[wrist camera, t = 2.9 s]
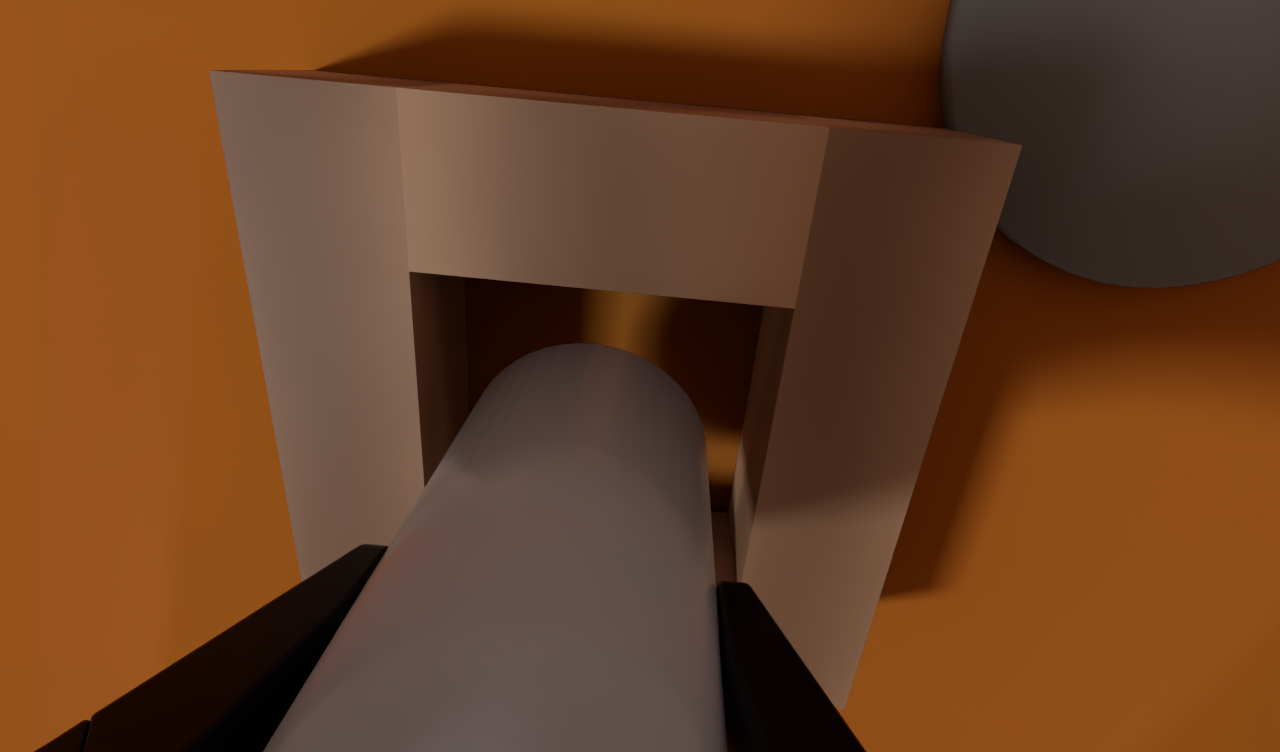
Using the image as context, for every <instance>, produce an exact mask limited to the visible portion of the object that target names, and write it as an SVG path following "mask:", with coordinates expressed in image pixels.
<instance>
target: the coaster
mask: <svg viewBox="0 0 1280 752" xmlns="http://www.w3.org/2000/svg"><path fill="white" fill-rule="evenodd" d="M940 85H941V103H942V115H943V120H944V125H945V129H950V130H954V131H960V132H964V133H969V134H973V135H978V136H983V137H987V138H992V139H996V140H1001V141H1005V142H1010V143H1014V144H1019V145H1022V148H1021V151H1020V154H1019V158H1018V161H1017V164H1016V167H1015V170H1014V173H1013V177H1012V180H1011V183H1010V186H1009V189H1008V192H1007V196H1006V199H1005V202H1004V205H1003V208H1002V211H1001V215H1000V218H999V221H998V224H997V228H998V229H999V230H1000V231H1001V232H1002V233H1003V234H1004V235H1005V236H1006V237H1007V238H1008V239H1010V240H1011V241H1013V242H1014V243H1015V244H1017V245H1018V246H1020V247H1021V248H1023V249H1024V250H1026V251H1027V252H1029V253H1030V254H1032V255H1034V256H1036V257H1038V258H1040V259H1041V260H1043V261H1045V262H1047V263H1049V264H1052V265H1054V266H1056V267H1058V268H1060V269H1062V270H1064V271H1066V272H1068V273H1070V274H1073V275H1077V276H1080V277H1083V278H1086V279H1090V280H1093V281H1096V282H1100V283H1106V284H1113V285H1119V286H1125V287H1144V288H1165V287H1176V286H1188V285H1195V284H1200V283H1205V282H1210V281H1215V280H1220V279H1225V278H1229V277H1232V276H1235V275H1239V274H1242V273H1245V272H1248V271H1252V270H1255V269H1258V268H1261V267H1263V266H1266V265H1268V264H1271V263H1273V262H1276V261H1278V260H1280V0H951V2H950V6H949V11H948V16H947V22H946V27H945V32H944V37H943V44H942V58H941V73H940Z"/></svg>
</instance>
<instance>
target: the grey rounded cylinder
mask: <svg viewBox="0 0 1280 752" xmlns="http://www.w3.org/2000/svg"><path fill="white" fill-rule="evenodd" d="M263 752H727V740H726V725H725V710H724V696H723V681H722V667H721V652H720V637H719V623H718V608H717V594H716V579H715V564H714V550H713V535H712V520H711V506H710V491H709V477H708V462H707V448H706V437H705V433H704V429H703V425H702V422H701V420H700V417H699V415H698V412H697V410H696V408H695V407H694V405H693V403H692V402H691V400H690V398H689V397H688V396H687V394H686V393H685V392H684V390H683V389H682V388H681V387H680V386H679V385H678V384H677V383H676V382H675V381H674V380H673V379H672V378H671V377H670V376H669V375H668V374H667V373H665V372H664V371H663V370H661V369H660V368H659V367H657V366H656V365H654V364H652V363H651V362H649V361H647V360H645V359H644V358H642V357H640V356H637V355H635V354H632V353H630V352H628V351H625V350H621V349H618V348H614V347H611V346H605V345H599V344H587V343H573V344H561V345H556V346H551V347H547V348H543V349H540V350H538V351H535V352H532V353H529V354H527V355H525V356H524V357H522V358H520V359H518V360H516V361H514V362H513V363H512V364H510V365H509V366H507V367H506V368H504V369H503V370H502V371H501V372H500V373H499V374H498V375H497V376H496V377H495V378H494V379H493V380H492V381H491V383H490V384H489V385H488V386H487V388H486V389H485V390H484V392H483V394H482V395H481V397H480V399H479V400H478V402H477V403H476V405H475V407H474V408H473V410H472V412H471V413H470V415H469V416H468V418H467V420H466V421H465V423H464V425H463V426H462V428H461V430H460V431H459V433H458V434H457V436H456V438H455V439H454V441H453V443H452V444H451V446H450V447H449V449H448V451H447V452H446V454H445V456H444V457H443V459H442V461H441V462H440V464H439V465H438V467H437V469H436V470H435V472H434V474H433V475H432V477H431V478H430V480H429V482H428V483H427V485H426V487H425V488H424V490H423V492H422V493H421V495H420V496H419V498H418V500H417V501H416V503H415V505H414V506H413V508H412V509H411V511H410V513H409V514H408V516H407V518H406V519H405V521H404V522H403V524H402V526H401V527H400V529H399V531H398V532H397V534H396V536H395V537H394V539H393V540H392V542H391V544H390V545H389V547H388V549H387V550H386V552H385V553H384V555H383V557H382V558H381V560H380V562H379V563H378V565H377V567H376V568H375V570H374V571H373V573H372V575H371V576H370V578H369V580H368V581H367V583H366V584H365V586H364V588H363V589H362V591H361V593H360V594H359V596H358V597H357V599H356V601H355V602H354V604H353V606H352V607H351V609H350V611H349V612H348V614H347V615H346V617H345V619H344V620H343V622H342V624H341V625H340V627H339V628H338V630H337V632H336V633H335V635H334V637H333V638H332V640H331V642H330V643H329V645H328V646H327V648H326V650H325V651H324V653H323V655H322V656H321V658H320V659H319V661H318V663H317V664H316V666H315V668H314V669H313V671H312V673H311V674H310V676H309V677H308V679H307V681H306V682H305V684H304V686H303V687H302V689H301V690H300V692H299V694H298V695H297V697H296V699H295V700H294V702H293V703H292V705H291V707H290V708H289V710H288V712H287V713H286V715H285V717H284V718H283V720H282V721H281V723H280V725H279V726H278V728H277V730H276V731H275V733H274V734H273V736H272V738H271V739H270V741H269V743H268V744H267V746H266V748H265V749H264V751H263Z"/></svg>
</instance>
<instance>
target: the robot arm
mask: <svg viewBox="0 0 1280 752" xmlns="http://www.w3.org/2000/svg"><path fill="white" fill-rule="evenodd" d="M388 547H389V546H385V545H375V544H362V545H359V546H358V547H356V548H354V549H353V550H351V551H350V552H348V553H346V554H345V555H343V556H342V557H340V558H339V559H337V560H335V561H334V562H332V563H331V564H329V565H327V566H326V567H324V568H323V569H321V570H320V571H318V572H316V573H315V574H313V575H312V576H310V577H309V578H307V579H305V580H304V581H302V582H301V583H299V584H298V585H296V586H294V587H293V588H291V589H290V590H288V591H287V592H285V593H283V594H282V595H280V596H279V597H277V598H276V599H274V600H272V601H271V602H269V603H268V604H266V605H265V606H263V607H261V608H260V609H258V610H257V611H255V612H254V613H252V614H250V615H249V616H247V617H246V618H244V619H243V620H241V621H239V622H238V623H236V624H235V625H233V626H232V627H230V628H228V629H227V630H225V631H224V632H222V633H221V634H219V635H217V636H216V637H214V638H213V639H211V640H210V641H208V642H206V643H205V644H203V645H202V646H200V647H199V648H197V649H195V650H194V651H192V652H191V653H189V654H188V655H186V656H184V657H183V658H181V659H180V660H178V661H177V662H175V663H173V664H172V665H170V666H169V667H167V668H165V669H164V670H162V671H161V672H159V673H158V674H156V675H154V676H153V677H151V678H150V679H148V680H147V681H145V682H143V683H142V684H140V685H139V686H137V687H136V688H134V689H132V690H131V691H129V692H128V693H126V694H125V695H123V696H121V697H120V698H118V699H117V700H115V701H114V702H112V703H110V704H109V705H107V706H106V707H104V708H103V709H101V710H99V711H98V712H96V713H95V714H94V715H93V716H92V717H91V720H90V721H89V720H84V721H82V722H80V723H79V724H77V725H75V726H74V727H72V728H71V729H69V730H68V731H66V732H64V733H63V734H61V735H60V736H58V737H57V738H55V739H53V740H52V741H50V742H49V743H47V744H46V745H44V746H42V747H41V748H39V749H37V750H36V751H34V752H263V751H264V749H265V748H266V746H267V744H268V743H269V741H270V739H271V738H272V736H273V734H274V733H275V731H276V730H277V728H278V726H279V725H280V723H281V721H282V720H283V718H284V717H285V715H286V713H287V712H288V710H289V708H290V707H291V705H292V703H293V702H294V700H295V699H296V697H297V695H298V694H299V692H300V690H301V689H302V687H303V686H304V684H305V682H306V681H307V679H308V677H309V676H310V674H311V673H312V671H313V669H314V668H315V666H316V664H317V663H318V661H319V659H320V658H321V656H322V655H323V653H324V651H325V650H326V648H327V646H328V645H329V643H330V642H331V640H332V638H333V637H334V635H335V633H336V632H337V630H338V628H339V627H340V625H341V624H342V622H343V620H344V619H345V617H346V615H347V614H348V612H349V611H350V609H351V607H352V606H353V604H354V602H355V601H356V599H357V597H358V596H359V594H360V593H361V591H362V589H363V588H364V586H365V584H366V583H367V581H368V580H369V578H370V576H371V575H372V573H373V571H374V570H375V568H376V567H377V565H378V563H379V562H380V560H381V558H382V557H383V555H384V553H385V552H386V550H387V549H388ZM716 594H717V608H718V623H719V637H720V652H721V667H722V681H723V696H724V710H725V725H726V740H727V752H866V750H865V749H864V748H863V746H862V745H861V743H860V742H859V740H858V739H857V738H856V736H855V735H854V733H853V732H852V730H851V729H850V728H849V726H848V725H847V723H846V722H845V720H844V719H843V718H842V716H841V715H840V713H839V712H838V710H837V709H836V708H835V706H834V705H833V703H832V702H831V700H830V699H829V697H828V696H827V695H826V693H825V692H824V690H823V689H822V687H821V686H820V685H819V683H818V682H817V680H816V679H815V677H814V676H813V675H812V673H811V672H810V670H809V669H808V667H807V666H806V665H805V663H804V662H803V660H802V659H801V657H800V656H799V655H798V653H797V652H796V650H795V649H794V647H793V646H792V645H791V643H790V642H789V640H788V639H787V637H786V636H785V634H784V633H783V632H782V630H781V629H780V627H779V626H778V624H777V623H776V622H775V620H774V619H773V617H772V616H771V614H770V613H769V612H768V610H767V609H766V607H765V606H764V604H763V603H762V602H761V600H760V599H759V597H758V596H757V594H756V593H755V592H754V590H753V589H752V587H751V586H750V585H749V584H747V583H744V582H735V581H725V580H723V581H720V582H719V583H718V585H717V589H716Z"/></svg>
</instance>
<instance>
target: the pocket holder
mask: <svg viewBox="0 0 1280 752" xmlns="http://www.w3.org/2000/svg"><path fill="white" fill-rule="evenodd" d="M209 74H210V79H211V85H212V90H213V96H214V101H215V107H216V112H217V118H218V123H219V129H220V134H221V140H222V145H223V151H224V156H225V162H226V167H227V173H228V178H229V184H230V189H231V195H232V200H233V206H234V211H235V217H236V222H237V228H238V233H239V239H240V244H241V250H242V255H243V261H244V266H245V272H246V277H247V283H248V289H249V294H250V300H251V305H252V311H253V316H254V322H255V327H256V333H257V338H258V344H259V349H260V355H261V360H262V366H263V371H264V377H265V382H266V388H267V393H268V399H269V404H270V410H271V415H272V421H273V426H274V432H275V437H276V443H277V448H278V454H279V459H280V465H281V470H282V476H283V481H284V487H285V492H286V498H287V503H288V509H289V514H290V520H291V526H292V531H293V537H294V542H295V548H296V553H297V559H298V564H299V570H300V575H301V581H304V580H305V579H307V578H309V577H310V576H312V575H313V574H315V573H316V572H318V571H320V570H321V569H323V568H324V567H326V566H327V565H329V564H331V563H332V562H334V561H335V560H337V559H339V558H340V557H342V556H343V555H345V554H346V553H348V552H350V551H351V550H353V549H354V548H356V547H358V546H359V545H362V544H375V545H385V546H389V545H390V544H391V542H392V540H393V539H394V537H395V536H396V534H397V532H398V531H399V529H400V527H401V526H402V524H403V522H404V521H405V519H406V518H407V516H408V514H409V513H410V511H411V509H412V508H413V506H414V505H415V503H416V501H417V500H418V498H419V496H420V495H421V493H422V492H423V490H424V488H425V487H426V485H427V483H428V482H429V480H430V478H431V477H432V475H433V474H434V472H435V470H436V469H437V467H438V465H439V464H440V462H441V461H442V459H443V457H444V456H445V454H446V452H447V451H448V449H449V447H450V446H451V444H452V443H453V441H454V439H455V438H456V436H457V434H458V433H459V431H460V430H461V428H462V426H463V425H464V423H465V421H466V420H467V418H468V416H469V385H468V355H467V325H466V295H465V277H471V278H482V279H492V280H502V281H513V282H523V283H534V284H544V285H554V286H565V287H575V288H585V289H596V290H606V291H616V292H627V293H637V294H648V295H658V296H668V297H679V298H689V299H699V300H710V301H720V302H731V303H741V304H751V305H762V306H764V307H763V313H762V319H761V325H760V330H759V336H758V342H757V348H756V354H755V359H754V365H753V371H752V377H751V383H750V388H749V394H748V400H747V406H746V412H745V417H744V423H743V429H742V435H741V441H740V446H739V452H738V458H737V464H736V470H735V476H734V481H733V487H732V493H731V499H730V505H729V510H728V513H725V512H715V511H711V520H712V535H713V550H714V564H715V579H716V589H717V585H718V583H719V582H720V581H723V580H725V581H735V582H744V583H747V584H749V585H750V586H751V587H752V589H753V590H754V592H755V593H756V594H757V596H758V597H759V599H760V600H761V602H762V603H763V604H764V606H765V607H766V609H767V610H768V612H769V613H770V614H771V616H772V617H773V619H774V620H775V622H776V623H777V624H778V626H779V627H780V629H781V630H782V632H783V633H784V634H785V636H786V637H787V639H788V640H789V642H790V643H791V645H792V646H793V647H794V649H795V650H796V652H797V653H798V655H799V656H800V657H801V659H802V660H803V662H804V663H805V665H806V666H807V667H808V669H809V670H810V672H811V673H812V675H813V676H814V677H815V679H816V680H817V682H818V683H819V685H820V686H821V687H822V689H823V690H824V692H825V693H826V695H827V696H828V697H829V699H830V700H831V702H832V703H833V705H834V706H835V708H838V709H845V705H846V702H847V699H848V696H849V693H850V690H851V686H852V683H853V680H854V677H855V674H856V671H857V667H858V664H859V661H860V658H861V655H862V652H863V648H864V645H865V642H866V639H867V636H868V633H869V629H870V626H871V623H872V620H873V617H874V614H875V610H876V607H877V604H878V601H879V598H880V595H881V591H882V588H883V585H884V582H885V579H886V576H887V572H888V569H889V566H890V563H891V560H892V557H893V553H894V550H895V547H896V544H897V541H898V538H899V534H900V531H901V528H902V525H903V522H904V519H905V515H906V512H907V509H908V506H909V503H910V500H911V496H912V493H913V490H914V487H915V484H916V481H917V477H918V474H919V471H920V468H921V465H922V462H923V458H924V455H925V452H926V449H927V446H928V443H929V439H930V436H931V433H932V430H933V427H934V424H935V420H936V417H937V414H938V411H939V408H940V405H941V401H942V398H943V395H944V392H945V389H946V386H947V382H948V379H949V376H950V373H951V370H952V367H953V363H954V360H955V357H956V354H957V351H958V348H959V344H960V341H961V338H962V335H963V332H964V329H965V325H966V322H967V319H968V316H969V313H970V310H971V306H972V303H973V300H974V297H975V294H976V291H977V287H978V284H979V281H980V278H981V275H982V272H983V268H984V265H985V262H986V259H987V256H988V253H989V249H990V246H991V243H992V240H993V237H994V234H995V230H996V227H997V224H998V221H999V218H1000V215H1001V211H1002V208H1003V205H1004V202H1005V199H1006V196H1007V192H1008V189H1009V186H1010V183H1011V180H1012V177H1013V173H1014V170H1015V167H1016V164H1017V161H1018V158H1019V154H1020V151H1021V148H1022V145H1019V144H1014V143H1010V142H1005V141H1001V140H996V139H992V138H987V137H983V136H978V135H973V134H969V133H964V132H960V131H954V130H950V129H945V128H935V127H924V126H913V125H902V124H891V123H880V122H870V121H859V120H848V119H837V118H826V117H815V116H804V115H793V114H783V113H772V112H761V111H750V110H739V109H728V108H717V107H706V106H696V105H685V104H674V103H663V102H652V101H641V100H630V99H619V98H609V97H598V96H587V95H576V94H565V93H554V92H543V91H532V90H522V89H511V88H500V87H489V86H478V85H467V84H456V83H445V82H435V81H424V80H413V79H402V78H391V77H380V76H369V75H358V74H348V73H337V72H326V71H315V70H209Z"/></svg>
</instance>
